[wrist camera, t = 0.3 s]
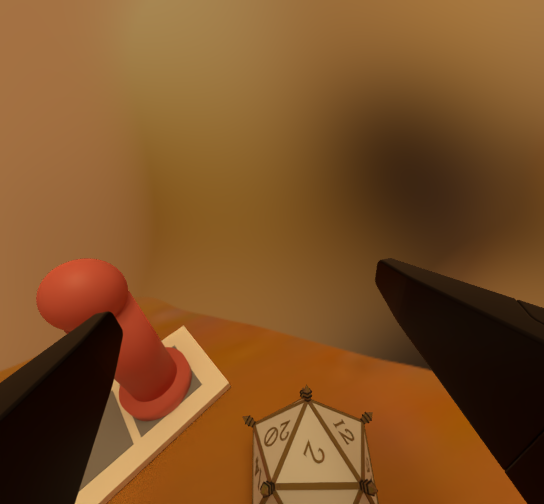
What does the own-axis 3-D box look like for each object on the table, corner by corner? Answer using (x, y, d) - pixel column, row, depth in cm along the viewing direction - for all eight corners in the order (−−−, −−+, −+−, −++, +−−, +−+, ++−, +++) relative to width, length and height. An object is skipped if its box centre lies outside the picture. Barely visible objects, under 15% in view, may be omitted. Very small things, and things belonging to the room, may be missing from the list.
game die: (295, 520, 18) (182, 605, 11) (288, 388, 22) (204, 388, 15) (432, 555, 13) (390, 737, 6) (389, 383, 18) (337, 380, 11)
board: (185, 329, 27) (183, 325, 26) (230, 386, 22) (228, 382, 21) (-260, 643, 13) (-285, 647, 13) (-425, 1001, 8) (-481, 1035, 7)
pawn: (186, 415, 19) (94, 300, 11) (116, 426, 19) (-38, 318, 10) (195, 350, 24) (135, 232, 15) (138, 359, 24) (43, 243, 15)
